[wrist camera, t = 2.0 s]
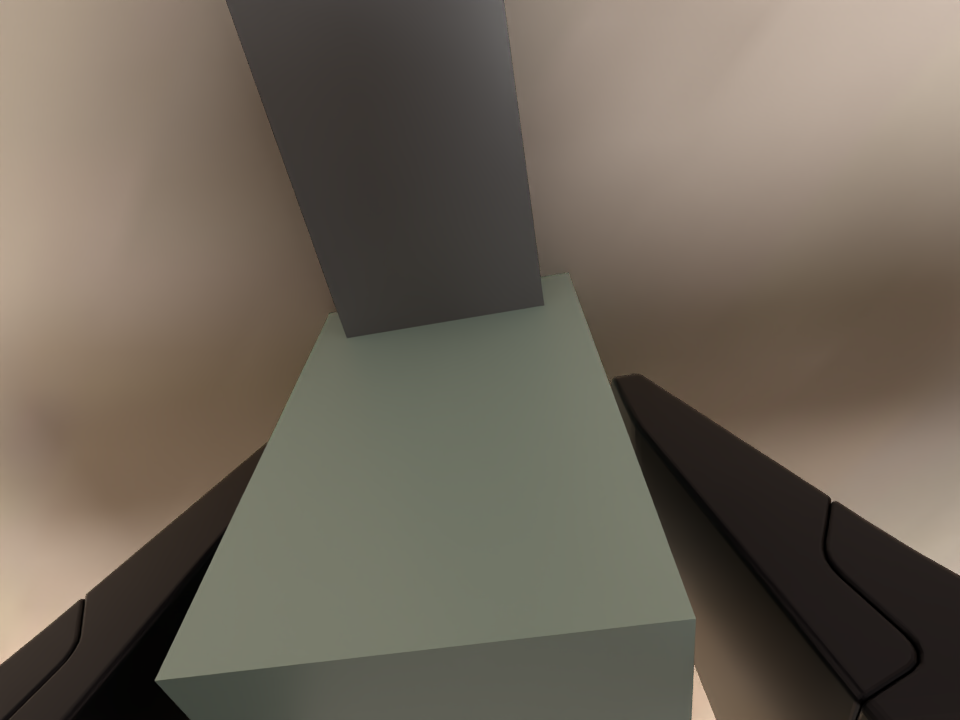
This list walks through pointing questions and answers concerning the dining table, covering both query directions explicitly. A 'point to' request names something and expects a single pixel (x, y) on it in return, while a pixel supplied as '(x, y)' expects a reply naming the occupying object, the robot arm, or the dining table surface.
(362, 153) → the grey piece
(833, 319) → the dining table surface
